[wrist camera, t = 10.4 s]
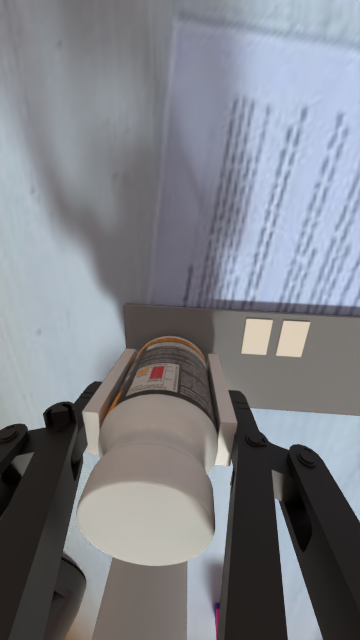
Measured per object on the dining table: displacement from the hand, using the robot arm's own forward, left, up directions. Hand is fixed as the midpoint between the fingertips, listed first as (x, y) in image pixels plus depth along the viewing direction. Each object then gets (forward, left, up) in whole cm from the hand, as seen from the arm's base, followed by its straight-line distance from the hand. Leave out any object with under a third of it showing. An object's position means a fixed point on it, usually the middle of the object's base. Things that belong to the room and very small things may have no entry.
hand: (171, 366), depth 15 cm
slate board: (+8, 0, -2) cm, 8 cm away
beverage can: (-1, -16, -2) cm, 17 cm away
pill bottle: (0, 0, -1) cm, 1 cm away
